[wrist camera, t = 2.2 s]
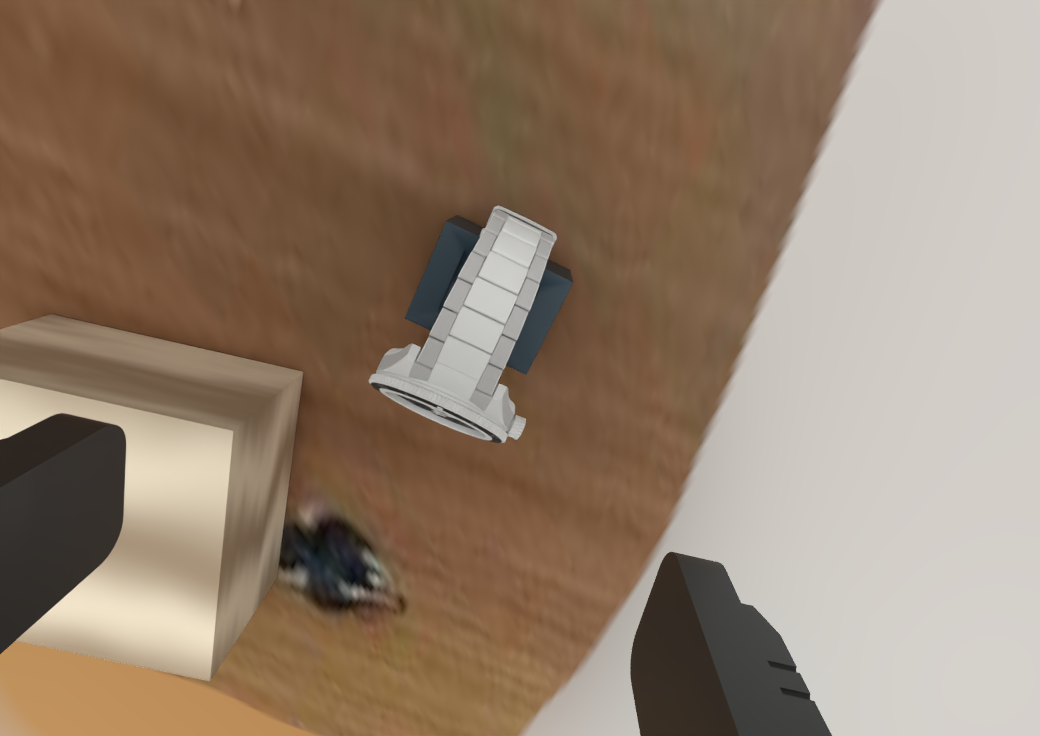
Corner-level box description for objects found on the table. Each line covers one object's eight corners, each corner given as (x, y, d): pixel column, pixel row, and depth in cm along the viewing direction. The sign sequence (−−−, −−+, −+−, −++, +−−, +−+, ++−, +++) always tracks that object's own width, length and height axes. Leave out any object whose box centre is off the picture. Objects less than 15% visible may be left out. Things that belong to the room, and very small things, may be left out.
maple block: (51, 314, 29) (-96, 357, 22) (303, 371, 29) (233, 430, 23) (52, 529, 33) (-74, 622, 26) (276, 578, 33) (210, 681, 26)
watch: (403, 339, 29) (323, 437, 18) (473, 176, 26) (428, 182, 16) (511, 389, 29) (494, 512, 19) (590, 234, 27) (619, 276, 16)
